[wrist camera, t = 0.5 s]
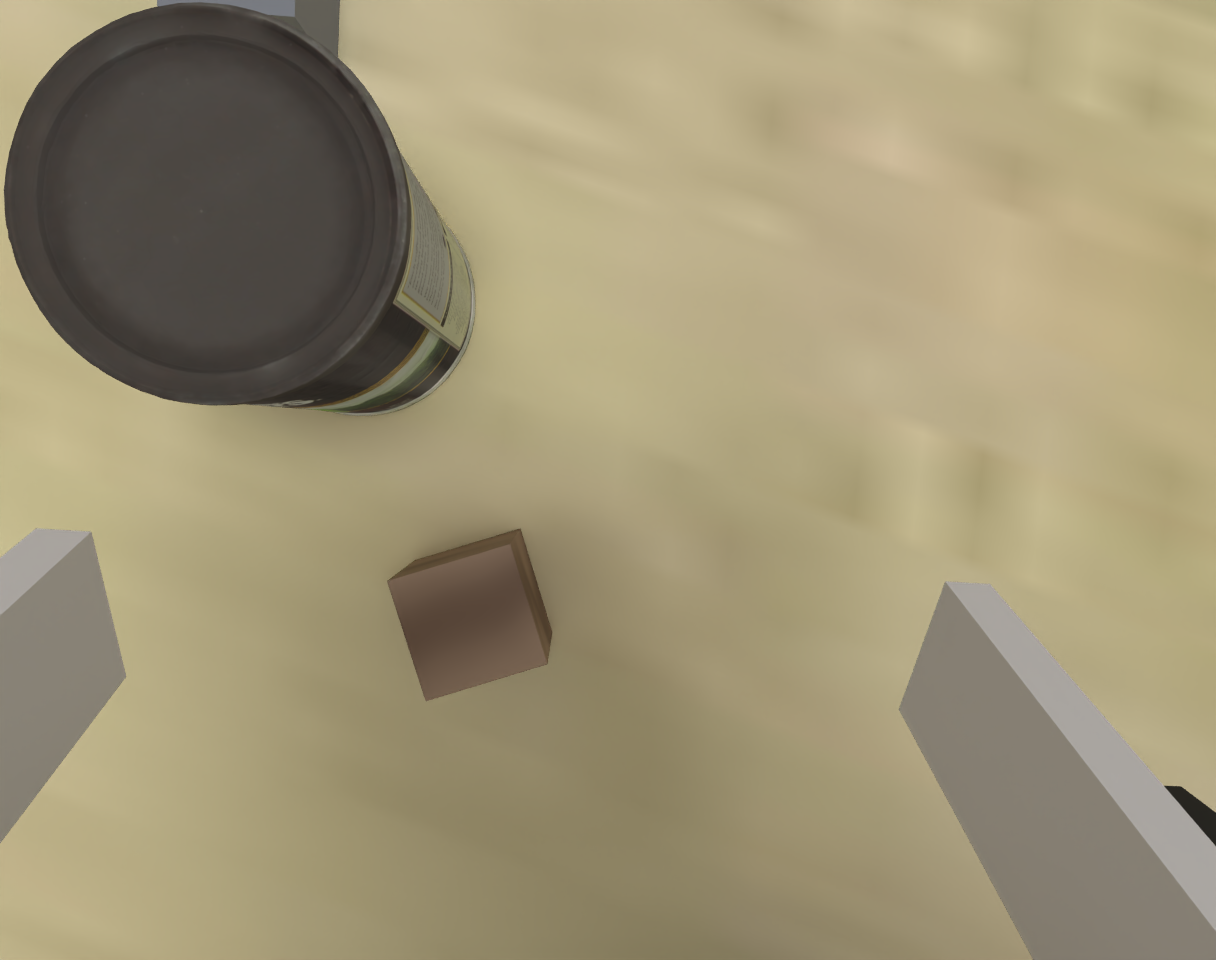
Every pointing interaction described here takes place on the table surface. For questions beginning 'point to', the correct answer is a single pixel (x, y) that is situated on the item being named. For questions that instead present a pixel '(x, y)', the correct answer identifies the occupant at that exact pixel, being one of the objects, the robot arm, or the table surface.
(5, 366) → the table surface
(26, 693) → the robot arm
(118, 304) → the coffee can
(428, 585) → the walnut block
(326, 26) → the blue-gray block
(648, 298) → the table surface
